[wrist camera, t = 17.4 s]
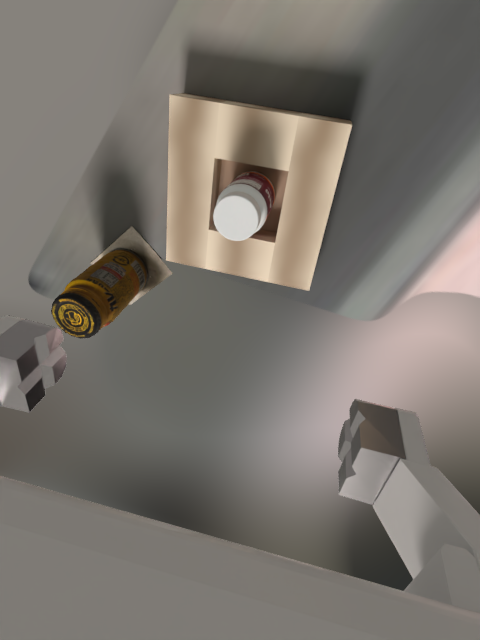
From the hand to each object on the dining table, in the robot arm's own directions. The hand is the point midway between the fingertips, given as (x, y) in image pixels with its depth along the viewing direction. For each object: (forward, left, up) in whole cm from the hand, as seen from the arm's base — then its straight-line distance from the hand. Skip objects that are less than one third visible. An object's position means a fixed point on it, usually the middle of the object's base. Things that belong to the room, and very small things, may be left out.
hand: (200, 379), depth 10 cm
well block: (+4, +4, -33) cm, 34 cm away
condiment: (+18, +16, -33) cm, 41 cm away
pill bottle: (+4, +4, -32) cm, 33 cm away
